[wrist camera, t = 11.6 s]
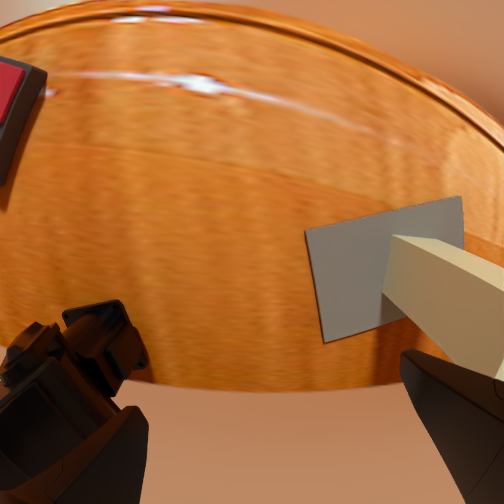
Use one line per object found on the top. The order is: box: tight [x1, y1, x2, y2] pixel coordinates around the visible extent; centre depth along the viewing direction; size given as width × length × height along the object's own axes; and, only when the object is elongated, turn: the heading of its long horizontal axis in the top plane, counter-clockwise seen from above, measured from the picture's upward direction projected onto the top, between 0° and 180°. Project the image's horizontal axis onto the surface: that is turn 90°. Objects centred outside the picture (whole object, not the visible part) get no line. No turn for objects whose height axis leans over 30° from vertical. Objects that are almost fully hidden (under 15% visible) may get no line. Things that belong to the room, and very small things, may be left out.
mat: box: [305, 196, 464, 342], centre depth 21 cm, size 14×9×1 cm, turn 103°
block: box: [382, 235, 504, 381], centre depth 14 cm, size 4×4×13 cm
